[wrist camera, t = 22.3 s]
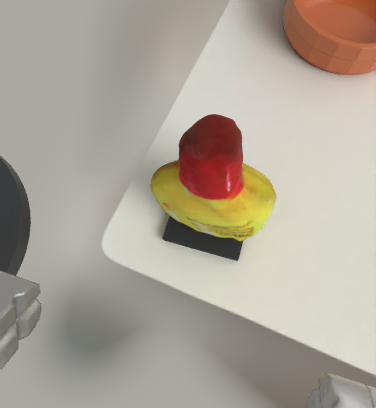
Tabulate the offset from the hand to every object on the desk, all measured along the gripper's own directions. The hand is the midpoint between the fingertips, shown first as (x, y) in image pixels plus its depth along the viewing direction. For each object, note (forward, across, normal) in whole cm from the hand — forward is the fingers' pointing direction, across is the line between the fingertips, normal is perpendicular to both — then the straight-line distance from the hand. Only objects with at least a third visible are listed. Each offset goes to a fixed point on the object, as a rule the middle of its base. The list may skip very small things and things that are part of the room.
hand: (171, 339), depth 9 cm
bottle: (+28, +1, +12) cm, 31 cm away
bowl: (+51, -10, -10) cm, 53 cm away
